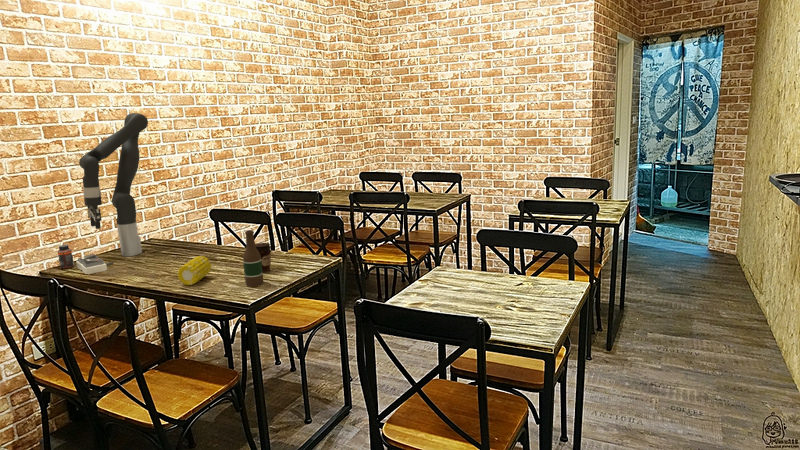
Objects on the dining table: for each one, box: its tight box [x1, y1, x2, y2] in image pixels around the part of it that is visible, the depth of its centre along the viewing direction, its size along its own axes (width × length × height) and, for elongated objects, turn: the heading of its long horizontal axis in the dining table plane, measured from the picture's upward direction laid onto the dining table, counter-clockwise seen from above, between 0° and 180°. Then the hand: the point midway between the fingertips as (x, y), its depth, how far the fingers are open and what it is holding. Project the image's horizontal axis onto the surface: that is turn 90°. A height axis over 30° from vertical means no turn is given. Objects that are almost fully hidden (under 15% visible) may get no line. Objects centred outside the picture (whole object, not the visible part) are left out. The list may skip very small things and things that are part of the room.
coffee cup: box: [255, 242, 272, 274], centre depth 248 cm, size 9×8×13 cm
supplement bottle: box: [57, 244, 75, 270], centre depth 263 cm, size 6×6×11 cm
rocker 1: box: [79, 252, 97, 260], centre depth 264 cm, size 6×4×2 cm
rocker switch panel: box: [75, 254, 114, 275], centre depth 263 cm, size 14×18×5 cm
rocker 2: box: [85, 258, 101, 264], centre depth 257 cm, size 6×4×2 cm
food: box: [177, 255, 212, 286], centre depth 238 cm, size 15×12×10 cm
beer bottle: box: [242, 229, 264, 287], centre depth 229 cm, size 8×8×24 cm
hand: (95, 227), depth 270 cm, fingers open, 8 cm apart
